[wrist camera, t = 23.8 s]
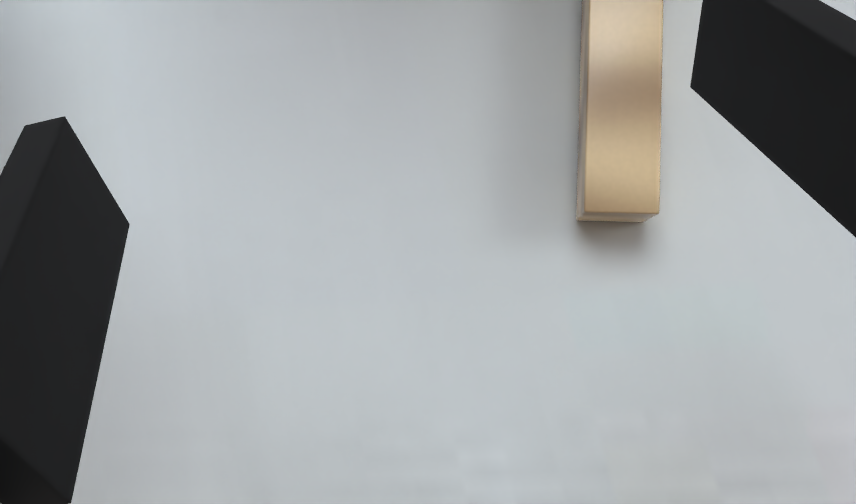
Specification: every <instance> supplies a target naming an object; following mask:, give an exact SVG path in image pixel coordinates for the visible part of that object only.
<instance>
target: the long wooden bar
mask: <svg viewBox="0 0 856 504" xmlns="http://www.w3.org/2000/svg"><path fill="white" fill-rule="evenodd" d="M662 35H663V0H582V21H581V59H580V97H579V135H578V173H577V212H576V219H577V220H580V221H619V222H644V221H646V220H648V219H650V218H652V217H653V216H655V215H657V214H659V199H660V144H661V90H662Z"/></svg>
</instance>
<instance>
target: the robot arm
mask: <svg viewBox="0 0 856 504" xmlns="http://www.w3.org/2000/svg"><path fill="white" fill-rule="evenodd" d="M690 87H691V88H692V89H693V90H694V91H695V92H696V93H697V94H699V95H700V96H701V97H702V98H703V99H704V100H705V101H706V102H707V103H708V104H710V105H711V106H712V107H713V108H714V109H715V110H716V111H717V112H718V113H719V114H721V115H722V116H723V117H724V118H725V119H726V120H727V121H728V122H729V123H730V124H732V125H733V126H734V127H735V128H736V129H737V130H738V131H739V132H740V133H741V134H743V135H744V136H745V137H746V138H747V139H748V140H749V141H750V142H751V143H752V144H754V145H755V146H756V147H757V148H758V149H759V150H760V151H761V152H762V153H763V154H765V155H766V156H767V157H768V158H769V159H770V160H771V161H772V162H773V163H774V164H776V165H777V166H778V167H779V168H780V169H781V170H782V171H783V172H784V173H785V174H787V175H788V176H789V177H790V178H791V179H792V180H793V181H794V182H795V183H796V184H798V185H799V186H800V187H801V188H802V189H803V190H804V191H805V192H806V193H807V194H809V195H810V196H811V197H812V198H813V199H814V200H815V201H816V202H817V203H818V204H820V205H821V206H822V207H823V208H824V209H825V210H826V211H827V212H828V213H829V214H831V215H832V216H833V217H834V218H835V219H836V220H837V221H838V222H839V223H840V224H842V225H843V226H844V227H845V228H846V229H847V230H848V231H849V232H850V233H851V234H853V235H854V236H855V237H856V20H854V19H852V18H850V17H848V16H846V15H845V14H843V13H841V12H839V11H837V10H836V9H834V8H832V7H830V6H828V5H827V4H825V3H823V2H821V1H819V0H703V2H702V9H701V16H700V23H699V30H698V37H697V44H696V51H695V58H694V65H693V72H692V79H691V86H690ZM128 229H129V223H128V221H127V219H126V218H125V216H124V214H123V213H122V211H121V209H120V208H119V206H118V204H117V203H116V201H115V199H114V198H113V196H112V194H111V193H110V191H109V189H108V188H107V186H106V184H105V183H104V181H103V179H102V178H101V176H100V174H99V173H98V171H97V169H96V168H95V166H94V164H93V163H92V161H91V159H90V158H89V156H88V154H87V153H86V151H85V149H84V148H83V146H82V144H81V143H80V141H79V139H78V138H77V136H76V134H75V133H74V131H73V129H72V128H71V126H70V124H69V123H68V121H67V119H66V118H65V116H64V117H60V118H56V119H51V120H47V121H43V122H38V123H34V124H30V125H26V126H24V128H23V130H22V132H21V134H20V136H19V138H18V141H17V143H16V145H15V147H14V149H13V151H12V153H11V155H10V157H9V159H8V161H7V163H6V165H5V167H4V169H3V171H2V173H1V175H0V503H1V504H69V503H71V500H72V496H73V491H74V486H75V481H76V477H77V472H78V467H79V462H80V458H81V453H82V448H83V443H84V438H85V434H86V429H87V424H88V419H89V415H90V410H91V405H92V400H93V396H94V391H95V386H96V381H97V377H98V372H99V367H100V362H101V358H102V353H103V348H104V343H105V338H106V334H107V329H108V324H109V319H110V315H111V310H112V305H113V300H114V296H115V291H116V286H117V281H118V277H119V272H120V267H121V262H122V258H123V253H124V248H125V243H126V238H127V234H128Z"/></svg>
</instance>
